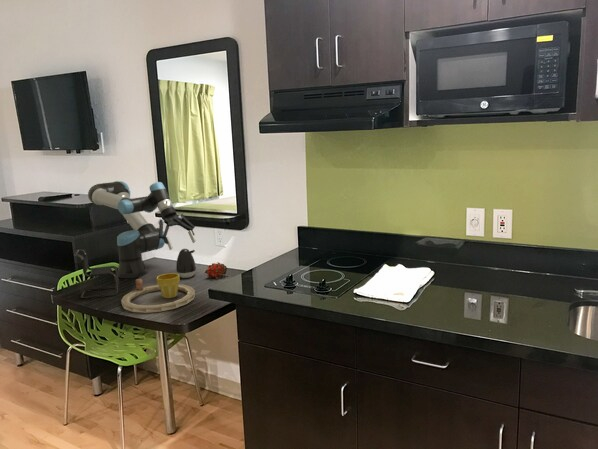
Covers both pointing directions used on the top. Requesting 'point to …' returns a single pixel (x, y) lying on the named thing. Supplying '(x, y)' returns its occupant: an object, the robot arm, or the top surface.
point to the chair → (97, 274)
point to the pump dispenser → (185, 264)
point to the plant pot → (168, 284)
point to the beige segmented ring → (155, 308)
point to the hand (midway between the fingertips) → (183, 245)
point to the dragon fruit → (216, 270)
